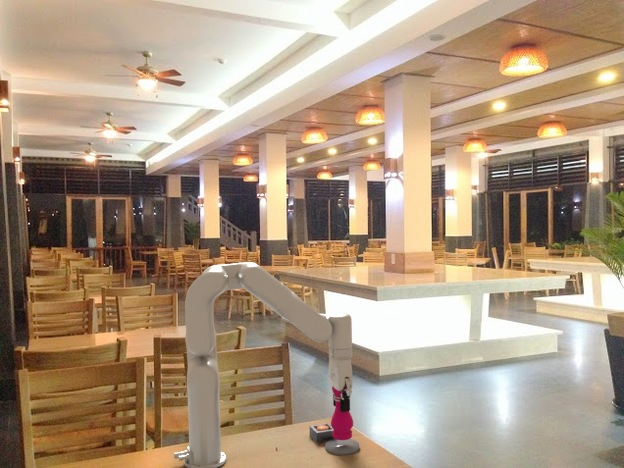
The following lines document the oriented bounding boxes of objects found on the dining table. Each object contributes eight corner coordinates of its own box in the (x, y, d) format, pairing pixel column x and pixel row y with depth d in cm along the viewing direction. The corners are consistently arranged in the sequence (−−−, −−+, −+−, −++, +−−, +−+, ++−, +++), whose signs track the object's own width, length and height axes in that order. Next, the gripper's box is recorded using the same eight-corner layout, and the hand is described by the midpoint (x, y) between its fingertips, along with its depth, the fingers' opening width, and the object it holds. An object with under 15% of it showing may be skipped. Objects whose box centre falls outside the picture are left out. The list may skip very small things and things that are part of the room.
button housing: (316, 443, 187) (316, 432, 186) (309, 435, 193) (309, 425, 193) (336, 440, 189) (336, 429, 189) (328, 432, 195) (328, 422, 195)
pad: (332, 457, 176) (332, 454, 176) (320, 444, 186) (320, 441, 186) (365, 451, 179) (365, 448, 179) (351, 439, 190) (351, 436, 190)
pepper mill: (353, 432, 186) (352, 372, 185) (353, 441, 179) (352, 378, 178) (331, 432, 186) (330, 372, 186) (330, 440, 179) (329, 378, 179)
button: (319, 437, 188) (319, 430, 188) (315, 433, 192) (315, 426, 192) (330, 435, 190) (330, 428, 190) (326, 431, 194) (326, 424, 193)
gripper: (320, 347, 188) (321, 401, 189) (339, 359, 172) (340, 418, 173) (341, 345, 191) (342, 399, 191) (362, 357, 175) (363, 415, 175)
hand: (341, 407), depth 182 cm, fingers closed on pepper mill, 5 cm apart
